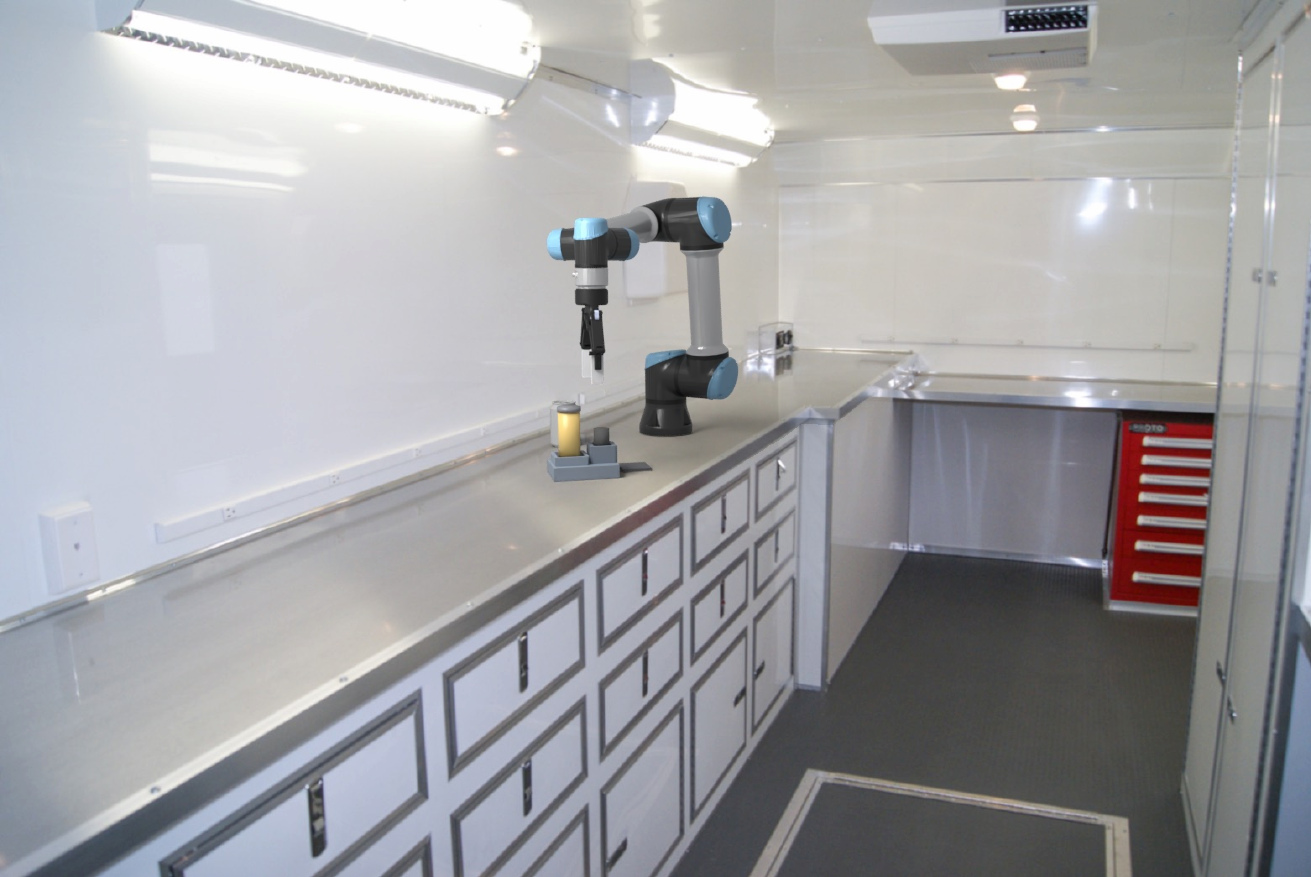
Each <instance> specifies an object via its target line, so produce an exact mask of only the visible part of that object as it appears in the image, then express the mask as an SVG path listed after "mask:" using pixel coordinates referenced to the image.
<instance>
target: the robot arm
mask: <svg viewBox="0 0 1311 877" xmlns="http://www.w3.org/2000/svg"><path fill="white" fill-rule="evenodd" d="M732 223H733V222H732V217H731V213H730V210H729V208H728V205H726V203H725V202H724V200H722V199H720V198H718V197H715V196H714V197H713V196H704V195H703V196H690V197H670V198H664V199H660V200H656V201H652V202H649V203H647V204H642V205H640V206H637V207H634V208H633V209H632V210H631V211H630V212H629V213H626V214H621V215H617V216H613V217H609V218H603V217H579V218H576V219H575V221H574V227H571V228H570V227H569V228H565V227H562V228H556V229H552V230H551V231H550V232H549V234H548V236H547V239H546V245H547V252H548V254H549V256H550V257H551V258H552V259H554V260H555V261H563V262H566V261H574V272H572V274H571V275H572V278H574V285H575V287H577V288H575V290H574V303H575V305H576V306H584V307H581V311H580V312H581V321H580V322H581V324H580V325H581V326H580V339H579V340H580V342H579V345H580V348H581V378H583V379H584V378H586V379H588V378H589V379H590V384H591V385H604V383H605V382H604V378H605V377H604V372H605V371H604V354H605V353H606V345H605V336H604V325H603V310H602V309H600V306H607V305H609V290H608V288H607V286H609V265H608V262H610V261H612V262H614V261H616V262H617V261H618V262H625V261H629V260H633V259H634V258H635V257H636V256H637V254H638V253H639V250H640V245H641V244H647V243H652V242H658V243H659V242H660V243H679V251H680V253H682V254H683V255H684V256H685V261H686V275H687V276H686V277H687V278H686V279H687V293H688V294H687V296H688V298H687V299H688V314H689V329H690V346H689V347H688V348H687V349H672V350H664V351H663V350H662V351H656V352H649V353H648V354H647V355H646V356H645V361H644V362H645V363H644V391H645V392H644V394H645V395H644V398H645V400H644V401H645V402H644V403H645V405H644V407H643V408H644V409H643V412H642V415H641V418H640V421H639V426H638V429H639V430H638V431H639V433H640V434H642V435H646V436H652V437H653V436H655V437H676V436H678V437H680V436H685V435H690V434H692V433H693V431H694V430H693V429H694V428H693V427H694V426H693V422H692V419H691V416H690V412H689V410H688V405H687V398H693V399H705V400H710V401H713V400H724V399H727V398H728V397H730V395H732V393H733V392H734V389H735V387H736V385H737V381H738V378H739V365H738V363H737V360H736V359H735V358H734V357H732V356H730V352H729V351H730V350H729V348H728V346H726V345H725V344H724V342H723V339H724V338H723V325H722V318H723V317H722V303H721V302H722V301H721V283H720V282H721V280H720V278H721V276H720V263H719V262H720V261H719V257H720V256H719V254H720V253H721V252H722V251H723V249H724V248H725V246H724V243H726V242H727V241H728V240H729V239H730V237H731V232H732V227H733V225H732Z"/></svg>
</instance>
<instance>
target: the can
mask: <svg viewBox="0 0 1311 877" xmlns="http://www.w3.org/2000/svg"><path fill="white" fill-rule="evenodd" d="M561 405H577V404H576V401H575V400H569V399H559V400H554V401H552V403H551V405H550V407H549V427H550V429H549V431H550V444H551V445H552V446H553V447H554V448H558V449H559V444H558V412H557V406H561Z"/></svg>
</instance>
